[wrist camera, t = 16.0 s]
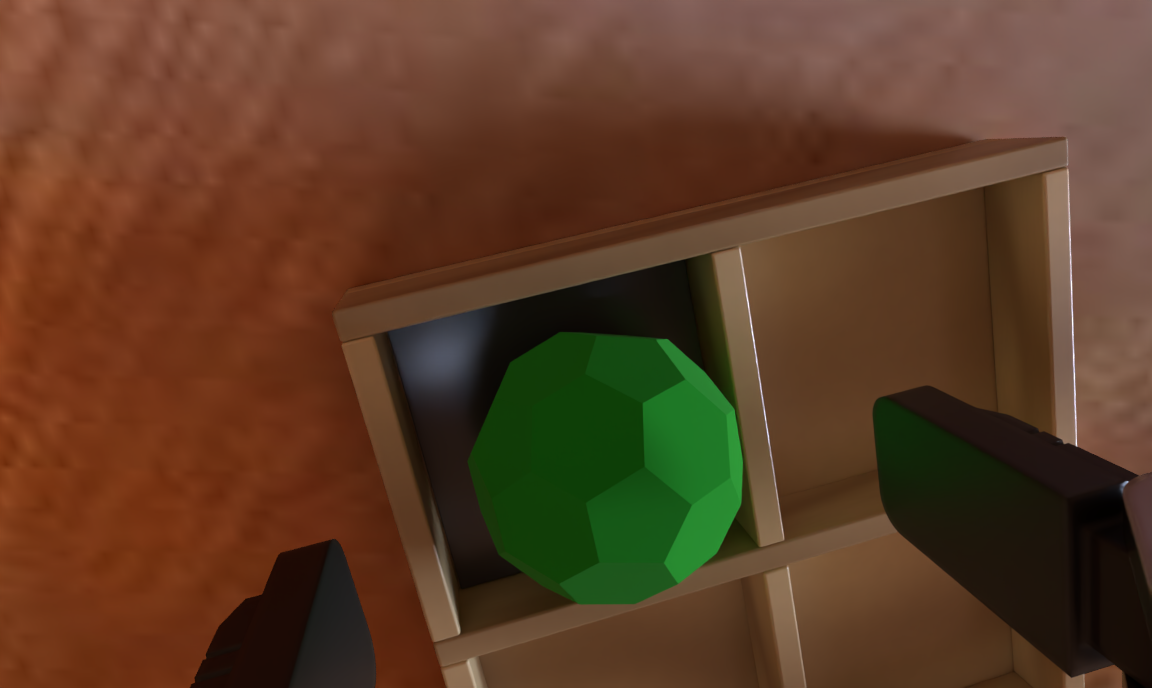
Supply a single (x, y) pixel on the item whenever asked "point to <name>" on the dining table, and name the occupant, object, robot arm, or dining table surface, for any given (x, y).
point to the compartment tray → (744, 419)
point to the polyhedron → (607, 467)
